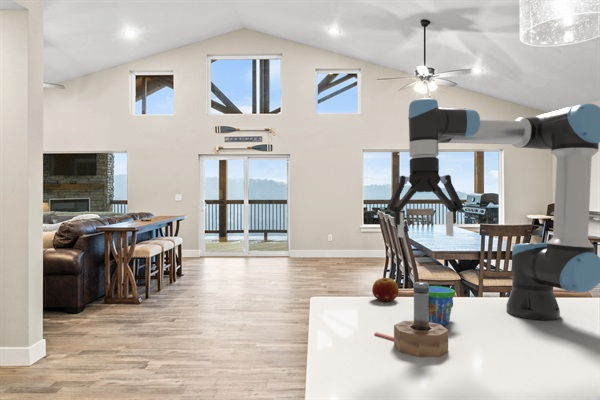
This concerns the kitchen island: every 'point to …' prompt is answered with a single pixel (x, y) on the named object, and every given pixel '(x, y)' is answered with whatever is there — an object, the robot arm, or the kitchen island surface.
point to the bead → (421, 339)
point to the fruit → (385, 289)
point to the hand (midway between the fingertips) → (425, 236)
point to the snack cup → (440, 304)
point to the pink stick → (384, 336)
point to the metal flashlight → (421, 306)
